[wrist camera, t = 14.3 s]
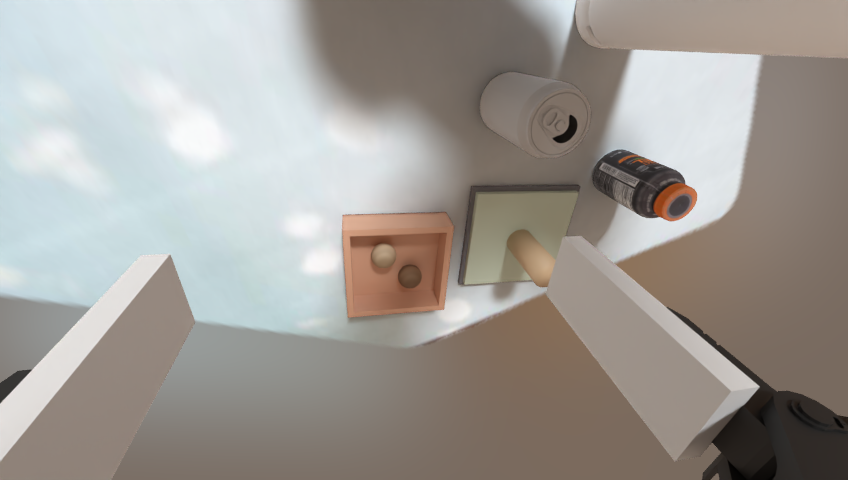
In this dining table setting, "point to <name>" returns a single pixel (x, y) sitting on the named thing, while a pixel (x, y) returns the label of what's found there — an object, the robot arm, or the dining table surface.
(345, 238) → the dish
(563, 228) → the lid
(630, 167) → the pill bottle
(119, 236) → the dining table surface
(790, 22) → the bottle
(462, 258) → the mat
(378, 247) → the ball beech
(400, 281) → the ball walnut
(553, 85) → the beverage can
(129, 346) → the robot arm
